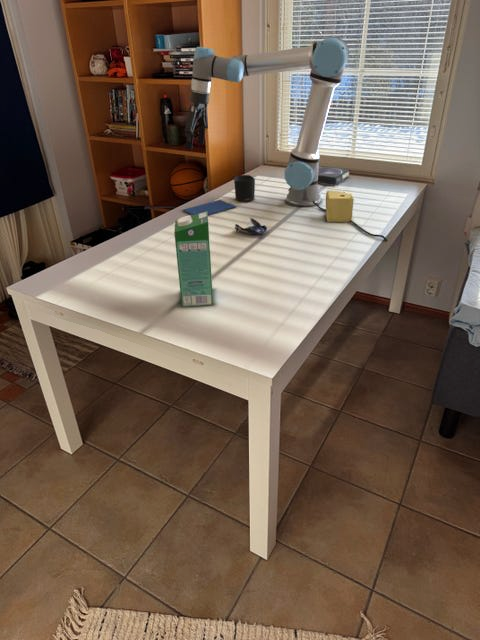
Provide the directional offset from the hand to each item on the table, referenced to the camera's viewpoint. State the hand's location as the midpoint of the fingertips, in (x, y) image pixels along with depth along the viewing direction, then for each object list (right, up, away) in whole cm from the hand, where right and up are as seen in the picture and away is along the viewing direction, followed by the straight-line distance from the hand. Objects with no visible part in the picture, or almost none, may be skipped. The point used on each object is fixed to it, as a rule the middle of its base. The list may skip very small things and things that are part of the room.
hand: (194, 146), depth 198 cm
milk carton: (+6, -67, -59) cm, 89 cm away
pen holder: (+21, -18, +19) cm, 34 cm away
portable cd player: (+64, -1, +44) cm, 78 cm away
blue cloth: (+6, -24, +9) cm, 26 cm away
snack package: (+24, -40, -16) cm, 49 cm away
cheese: (+60, -31, -4) cm, 67 cm away
